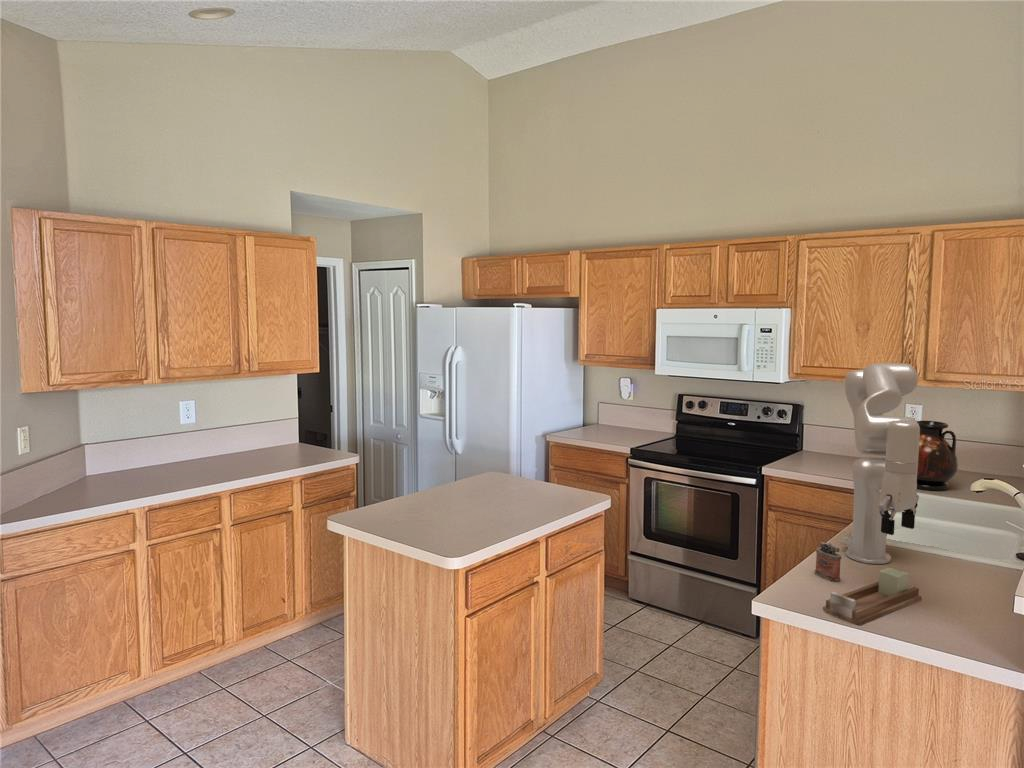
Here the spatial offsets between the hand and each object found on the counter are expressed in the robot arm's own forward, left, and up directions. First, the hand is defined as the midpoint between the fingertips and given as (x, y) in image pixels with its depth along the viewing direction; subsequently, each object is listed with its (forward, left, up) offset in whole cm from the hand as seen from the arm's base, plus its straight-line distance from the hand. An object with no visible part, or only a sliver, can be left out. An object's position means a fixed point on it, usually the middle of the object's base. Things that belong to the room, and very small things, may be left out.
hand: (897, 530), depth 185 cm
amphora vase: (-57, +125, -19) cm, 139 cm away
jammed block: (0, 0, -18) cm, 18 cm away
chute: (0, -9, -19) cm, 21 cm away
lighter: (-18, -2, -19) cm, 26 cm away
